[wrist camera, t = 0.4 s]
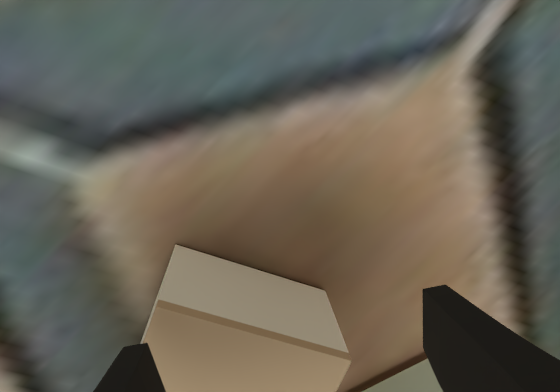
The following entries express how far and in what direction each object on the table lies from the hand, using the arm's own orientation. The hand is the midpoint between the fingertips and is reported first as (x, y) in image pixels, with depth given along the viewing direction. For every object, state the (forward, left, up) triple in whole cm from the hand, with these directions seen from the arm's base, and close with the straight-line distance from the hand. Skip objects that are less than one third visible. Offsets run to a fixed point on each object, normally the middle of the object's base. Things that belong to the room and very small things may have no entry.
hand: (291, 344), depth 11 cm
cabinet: (-8, 0, -10) cm, 13 cm away
